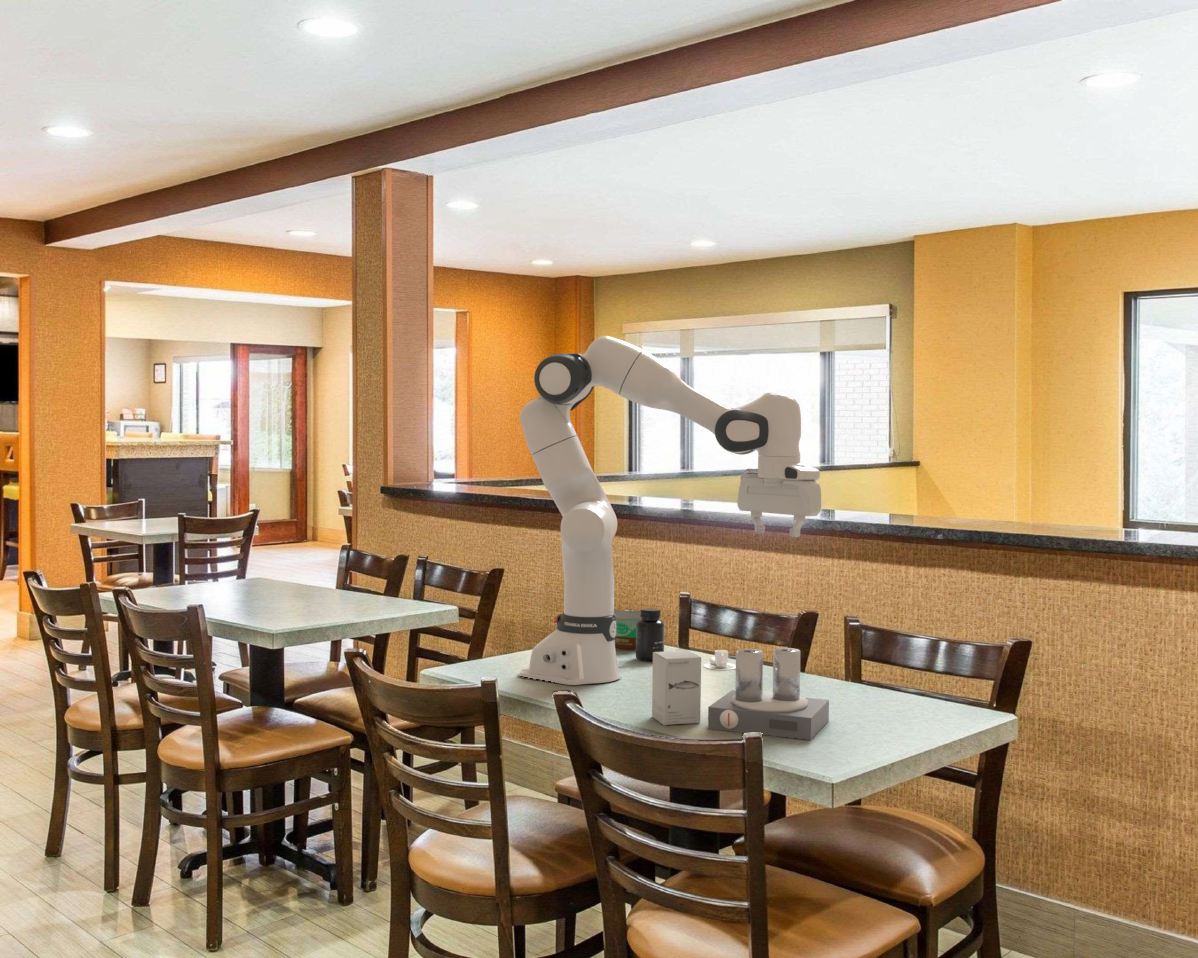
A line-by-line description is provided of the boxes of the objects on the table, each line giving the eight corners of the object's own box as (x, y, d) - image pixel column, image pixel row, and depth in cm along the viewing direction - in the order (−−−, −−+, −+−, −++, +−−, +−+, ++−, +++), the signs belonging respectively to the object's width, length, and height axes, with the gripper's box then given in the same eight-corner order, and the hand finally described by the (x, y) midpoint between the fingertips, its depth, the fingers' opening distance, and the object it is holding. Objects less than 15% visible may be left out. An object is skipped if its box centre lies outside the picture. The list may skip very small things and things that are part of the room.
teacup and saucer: (709, 663, 270) (710, 646, 269) (742, 665, 267) (742, 648, 267) (699, 670, 261) (699, 652, 261) (733, 672, 259) (733, 655, 258)
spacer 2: (769, 699, 211) (770, 651, 210) (776, 693, 215) (777, 646, 215) (796, 702, 209) (796, 653, 208) (802, 696, 213) (803, 648, 213)
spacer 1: (732, 700, 209) (732, 652, 209) (739, 695, 214) (740, 647, 214) (758, 703, 207) (759, 654, 207) (765, 697, 212) (766, 649, 212)
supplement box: (664, 726, 209) (664, 658, 209) (651, 716, 216) (651, 650, 216) (701, 723, 211) (702, 656, 211) (687, 714, 219) (688, 649, 218)
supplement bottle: (661, 662, 268) (662, 612, 267) (633, 661, 269) (633, 610, 269) (666, 657, 274) (666, 607, 274) (638, 655, 276) (638, 606, 275)
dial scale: (707, 728, 208) (707, 702, 207) (731, 710, 222) (732, 686, 221) (810, 740, 200) (810, 713, 200) (828, 720, 214) (829, 695, 214)
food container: (599, 649, 284) (599, 609, 284) (607, 644, 290) (607, 605, 289) (646, 652, 280) (647, 612, 280) (653, 648, 286) (654, 608, 285)
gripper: (732, 468, 246) (730, 531, 247) (807, 471, 231) (805, 539, 231) (751, 468, 250) (749, 530, 251) (826, 471, 235) (824, 538, 236)
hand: (777, 535), depth 241 cm, fingers open, 8 cm apart
